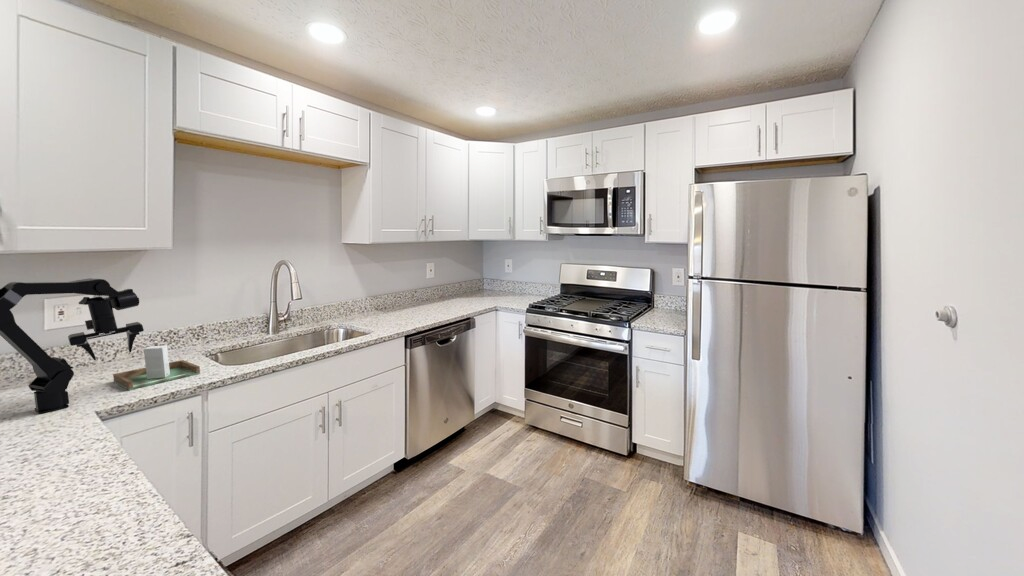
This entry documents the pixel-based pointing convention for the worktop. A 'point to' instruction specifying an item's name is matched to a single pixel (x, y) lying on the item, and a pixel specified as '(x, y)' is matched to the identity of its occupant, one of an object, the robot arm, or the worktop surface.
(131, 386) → the box
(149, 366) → the skincare box
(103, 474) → the worktop surface
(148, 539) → the worktop surface
